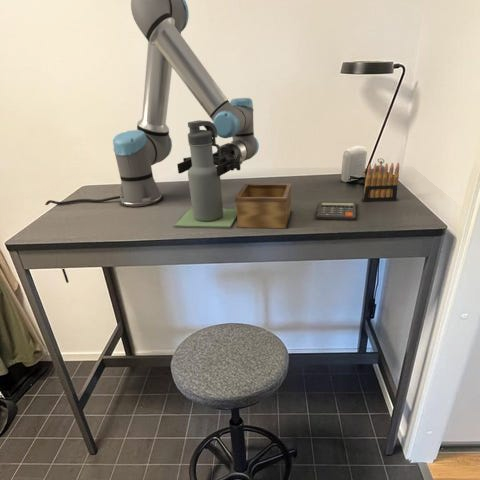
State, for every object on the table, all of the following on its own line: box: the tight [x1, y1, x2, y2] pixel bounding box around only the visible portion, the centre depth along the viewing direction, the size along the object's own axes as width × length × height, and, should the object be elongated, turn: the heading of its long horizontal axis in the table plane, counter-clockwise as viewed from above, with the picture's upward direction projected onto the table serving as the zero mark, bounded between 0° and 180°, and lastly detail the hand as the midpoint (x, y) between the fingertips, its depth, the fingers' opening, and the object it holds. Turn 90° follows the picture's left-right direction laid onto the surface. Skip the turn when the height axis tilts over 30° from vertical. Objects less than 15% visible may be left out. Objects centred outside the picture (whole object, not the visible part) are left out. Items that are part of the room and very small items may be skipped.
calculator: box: [315, 200, 357, 221], centre depth 127 cm, size 12×1×15 cm
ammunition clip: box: [362, 162, 400, 202], centre depth 131 cm, size 11×2×12 cm, turn 85°
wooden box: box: [234, 183, 292, 229], centre depth 122 cm, size 15×15×9 cm
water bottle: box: [187, 119, 224, 222], centre depth 120 cm, size 10×10×28 cm
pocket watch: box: [371, 158, 389, 182], centre depth 145 cm, size 8×8×10 cm
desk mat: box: [174, 208, 237, 229], centre depth 129 cm, size 18×16×1 cm
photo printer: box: [340, 145, 368, 183], centre depth 153 cm, size 10×4×12 cm, turn 123°
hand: (197, 170), depth 117 cm, fingers open, 13 cm apart
